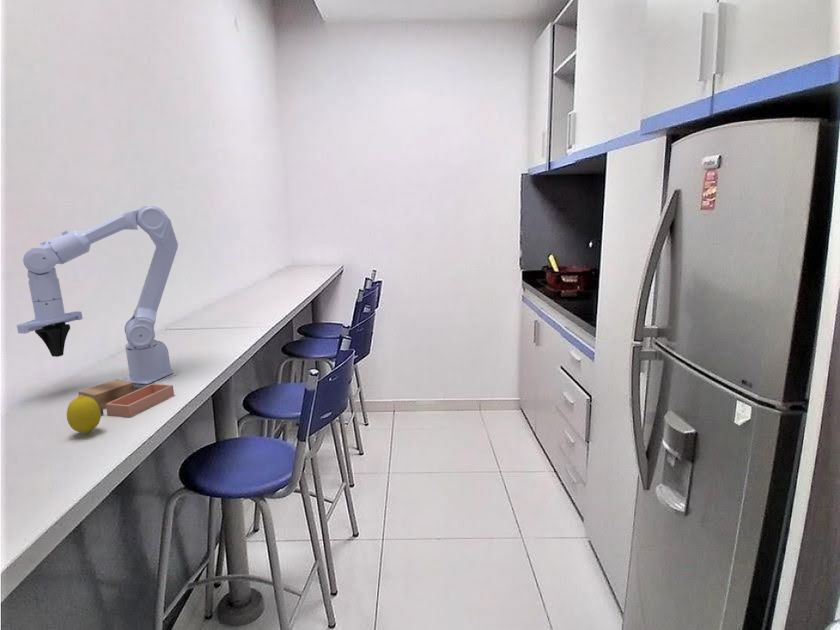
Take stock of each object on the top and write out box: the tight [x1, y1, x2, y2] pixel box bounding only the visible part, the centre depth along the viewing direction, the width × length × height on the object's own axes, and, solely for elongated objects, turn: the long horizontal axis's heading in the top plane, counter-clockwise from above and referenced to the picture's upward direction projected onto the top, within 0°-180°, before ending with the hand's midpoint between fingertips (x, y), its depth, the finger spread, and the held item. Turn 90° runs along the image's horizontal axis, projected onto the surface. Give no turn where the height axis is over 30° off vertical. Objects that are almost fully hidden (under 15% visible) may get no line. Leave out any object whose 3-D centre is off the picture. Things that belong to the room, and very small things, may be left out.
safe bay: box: [100, 384, 146, 416], centre depth 120 cm, size 16×8×1 cm, turn 164°
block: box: [77, 378, 135, 410], centre depth 119 cm, size 9×6×4 cm, turn 152°
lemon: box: [66, 395, 101, 435], centre depth 102 cm, size 6×6×8 cm
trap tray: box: [105, 383, 175, 418], centre depth 117 cm, size 13×6×2 cm, turn 164°
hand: (57, 355), depth 124 cm, fingers closed
